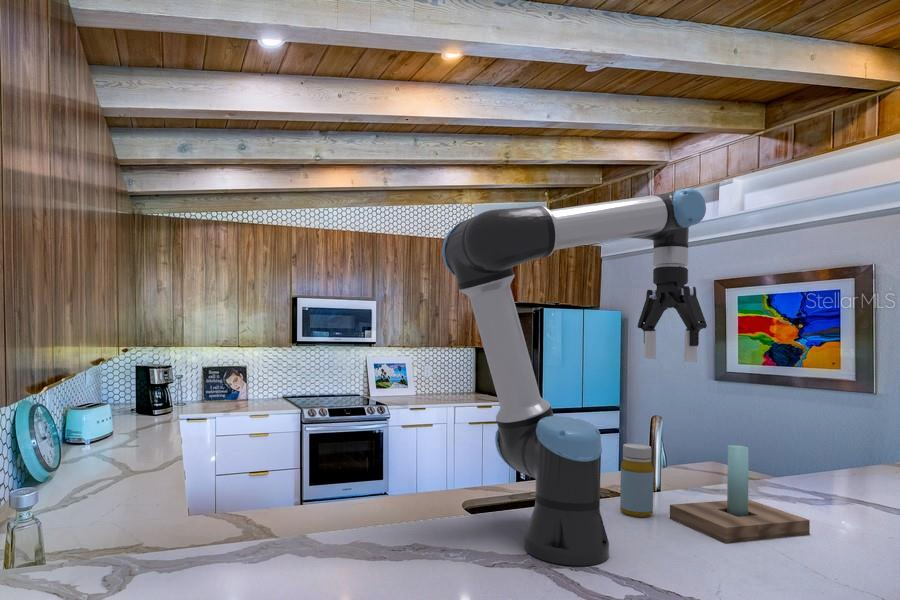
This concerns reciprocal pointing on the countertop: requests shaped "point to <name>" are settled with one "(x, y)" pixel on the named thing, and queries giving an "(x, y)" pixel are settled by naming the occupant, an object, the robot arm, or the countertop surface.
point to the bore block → (739, 521)
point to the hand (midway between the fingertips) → (669, 360)
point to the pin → (737, 480)
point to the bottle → (636, 481)
